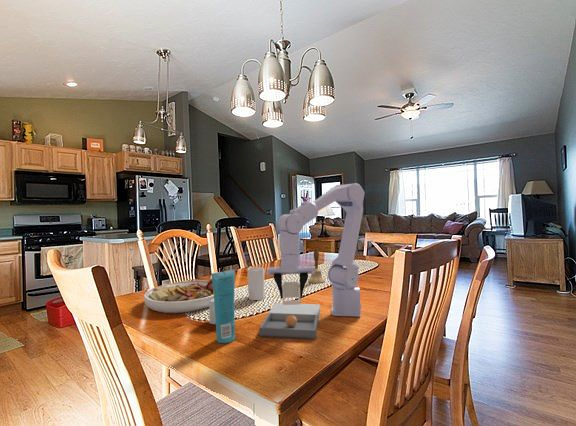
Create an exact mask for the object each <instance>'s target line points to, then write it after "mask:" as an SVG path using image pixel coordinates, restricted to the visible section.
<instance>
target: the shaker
mask: <svg viewBox="0 0 576 426" xmlns="http://www.w3.org/2000/svg"><path fill="white" fill-rule="evenodd" d="M282 289H283V299H282V303H283V305H297V304H301V298H300V280H299V281H282ZM285 298H286V299H285ZM287 298H289V300H288V299H287ZM290 298H293V299H290ZM294 298H297V299H294Z"/></svg>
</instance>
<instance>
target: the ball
mask: <svg viewBox="0 0 576 426" xmlns="http://www.w3.org/2000/svg"><path fill="white" fill-rule="evenodd" d="M296 323H297V319H296V317H295V316H294V315H289V316H288V317H287V318H286V324H287V325H288V326H289V327H293V326H295V325H296Z"/></svg>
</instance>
